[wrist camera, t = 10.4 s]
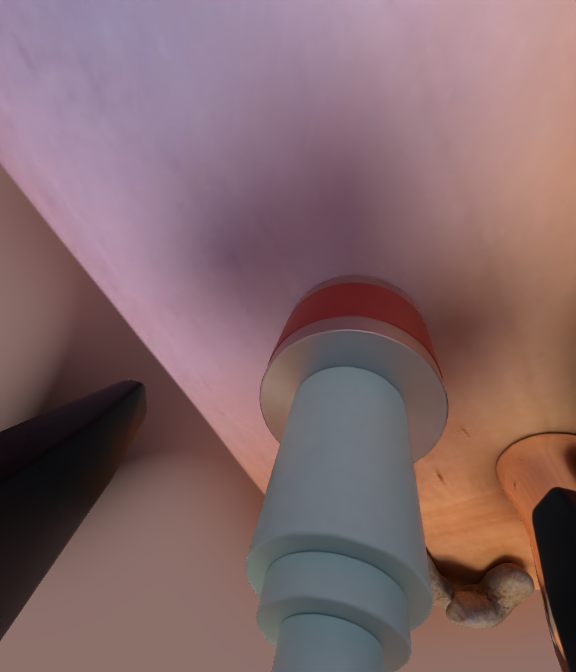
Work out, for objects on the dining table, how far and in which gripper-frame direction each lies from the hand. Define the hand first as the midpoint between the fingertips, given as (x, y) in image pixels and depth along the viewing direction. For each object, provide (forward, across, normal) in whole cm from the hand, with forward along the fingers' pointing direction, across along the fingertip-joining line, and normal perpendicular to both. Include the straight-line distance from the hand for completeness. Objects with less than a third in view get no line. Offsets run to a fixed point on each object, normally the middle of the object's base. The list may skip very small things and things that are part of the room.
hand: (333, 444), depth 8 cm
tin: (+13, -1, +4) cm, 13 cm away
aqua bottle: (+6, -1, +4) cm, 8 cm away
